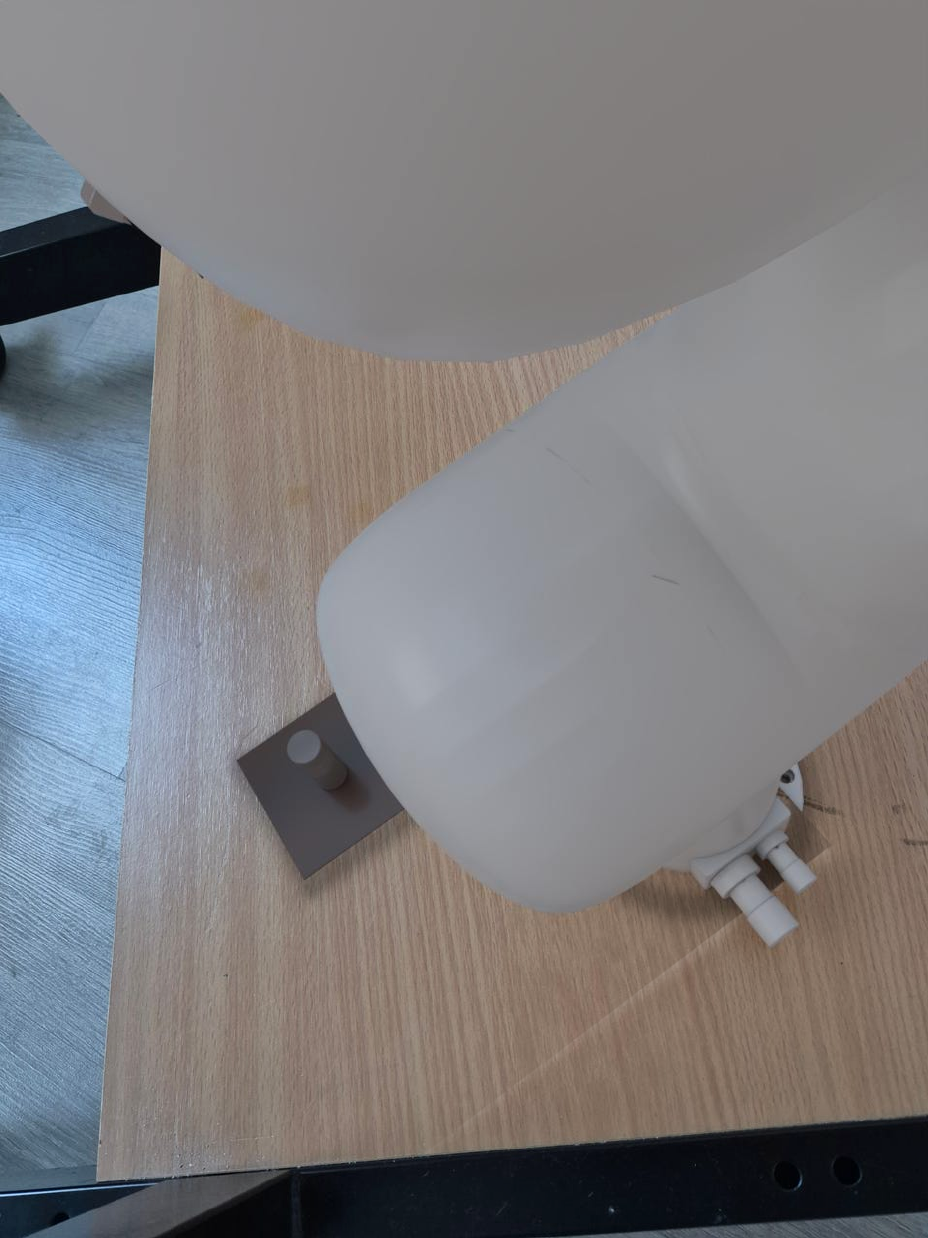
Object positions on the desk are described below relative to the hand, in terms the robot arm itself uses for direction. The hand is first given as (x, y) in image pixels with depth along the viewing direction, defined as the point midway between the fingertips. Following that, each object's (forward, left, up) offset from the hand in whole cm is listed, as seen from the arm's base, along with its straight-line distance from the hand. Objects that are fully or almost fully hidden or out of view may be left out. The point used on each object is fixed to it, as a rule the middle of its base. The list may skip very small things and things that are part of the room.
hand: (278, 235), depth 57 cm
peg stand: (-22, +15, -18) cm, 32 cm away
